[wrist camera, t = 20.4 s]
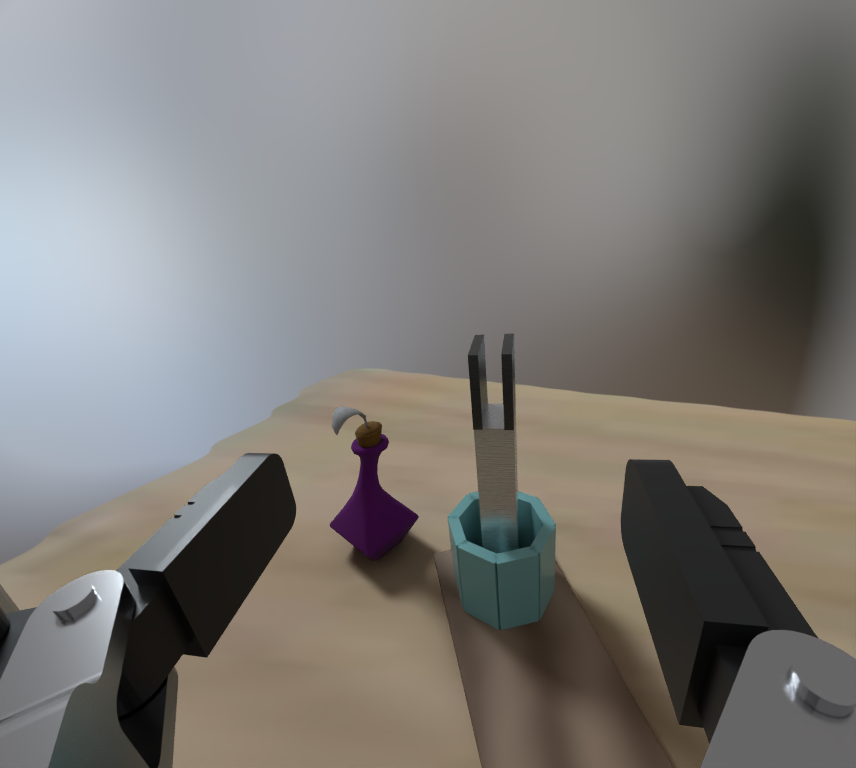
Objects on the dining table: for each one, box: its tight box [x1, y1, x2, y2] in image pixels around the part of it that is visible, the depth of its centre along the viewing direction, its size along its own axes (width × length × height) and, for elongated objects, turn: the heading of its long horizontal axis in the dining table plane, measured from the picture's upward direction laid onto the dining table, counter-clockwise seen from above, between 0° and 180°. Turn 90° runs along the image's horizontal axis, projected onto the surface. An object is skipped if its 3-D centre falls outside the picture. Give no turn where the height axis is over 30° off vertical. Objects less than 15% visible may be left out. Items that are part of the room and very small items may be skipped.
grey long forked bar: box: [468, 334, 519, 554], centre depth 35 cm, size 4×4×24 cm
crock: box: [448, 491, 556, 630], centre depth 39 cm, size 9×9×8 cm
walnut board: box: [434, 550, 673, 768], centre depth 33 cm, size 12×27×1 cm, turn 9°
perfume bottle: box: [330, 407, 418, 561], centre depth 45 cm, size 8×8×18 cm
